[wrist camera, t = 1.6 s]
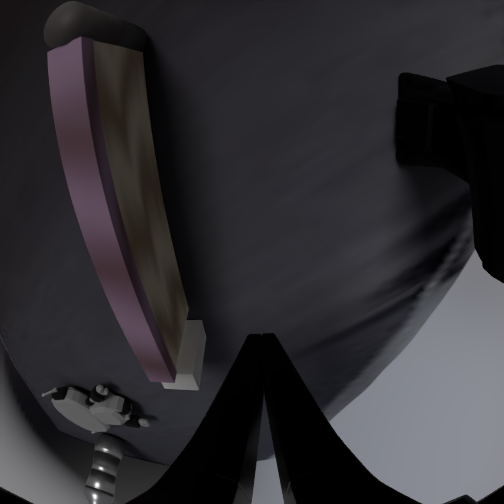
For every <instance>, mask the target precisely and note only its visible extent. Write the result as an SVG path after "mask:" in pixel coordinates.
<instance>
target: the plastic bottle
mask: <svg viewBox="0 0 504 504" xmlns="http://www.w3.org/2000/svg"><path fill="white" fill-rule="evenodd" d="M124 448H125V446H124V443H123V442H122V441H121V440H119V439H118V438H116V437H113V436H110V435H107V434H101V435H99V436H98V437H97V439H96V442H95V454H94V460H93V465H92V469H91V472H90V475H89V477H88V480H87V482H86V485H85V488H84V492H85V495H86V498H87V499H88V502H89V504H111V503H113V501H114V498H115V496H114V495H115V480H116V474H117V470H118V466H119V463H120V460H121V459H122V456H123V454H124Z"/></svg>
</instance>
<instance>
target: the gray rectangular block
mask: <svg viewBox="0 0 504 504" xmlns="http://www.w3.org/2000/svg"><path fill="white" fill-rule="evenodd" d="M205 344H206V334H205V330H204V326H203V322H202V320H186V324H185V328H184V332H183V337H182V341H181V346H180V350H179V355H178V360H177V364H176V370H177V374H176V379H175V383H165V382H161V383H162V384H163V386H164V388H166V389H182V390H199V386H200V379H201V372H202V365H203V358H204V351H205Z"/></svg>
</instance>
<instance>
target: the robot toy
mask: <svg viewBox="0 0 504 504" xmlns="http://www.w3.org/2000/svg"><path fill="white" fill-rule="evenodd" d="M52 392H53V393H52ZM50 393H52V402H53V404H54V407H55V408H56V409H57V410H58V411H59V412H60V413H61V414H63V415H64V416H65V417H66V418H67V419H69V420H71V421H72V422H74V423H75V424H77V425H79V426H81V427H82V428H84V429H87V430H90V431H92V432H91V433H95V432H106V431H108V430H110V427H111V425H122V424H123V423H124V424H125V425H127V426H129V427H135V428H139V427H140V425H142V426H144V427H148V426H149V425H150V423H149V421H148V420H147V419H143V418H142V419H140V417H139V416H138V415H131V409H132V405H131V404H129V403H128V402H127V401H124V398H122V397H120V396H116V395H115V394H113V393H111V392H110V391H109V390H108V389H107V388H103V386H101V385H96V386H95V387H94V388H93V389H92V391H91V392H90V395H89V396H88V395H86V394H85V393H83V392H81V391H80V390H77V389H76V388H73V387H61V388H54V390H51V391H49V392H47V393H43V394H42V396H43V397H44V396H45V395H47V394H50Z"/></svg>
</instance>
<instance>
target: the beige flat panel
mask: <svg viewBox="0 0 504 504" xmlns="http://www.w3.org/2000/svg"><path fill="white" fill-rule="evenodd" d="M44 40H45V43H46V44H47V45H48V46H49V47H51V48H55V49H53V50H51V51H49V52H47V55H48V72H49V84H50V93H51V102H52V109H53V116H54V122H55V128H56V134H57V140H58V145H59V150H60V154H61V159H62V163H63V168H64V172H65V176H66V180H67V184H68V188H69V191H70V195H71V199H72V202H73V206H74V209H75V212H76V216H77V219H78V222H79V225H80V228H81V231H82V234H83V237H84V240H85V243H86V246H87V248H88V251H89V254H90V256H91V259H92V262H93V264H94V267H95V270H96V272H97V275H98V277H99V279H100V282H101V284H102V287H103V289H104V291H105V294H106V296H107V298H108V300H109V303H110V305H111V307H112V309H113V311H114V314H115V316H116V318H117V320H118V322H119V324H120V326H121V328H122V330H123V332H124V334H125V336H126V338H127V340H128V342H129V344H130V346H131V348H132V350H133V351H134V353H135V355H136V357H137V359H138V361H139V362H140V364H141V366H142V368H143V370H144V371H145V373H146V375H147V376H148V378H149V380H150V381H152V382H165V383H175V379H176V374H177V370H176V364H177V360H178V355H179V350H180V346H181V341H182V337H183V332H184V328H185V324H186V319H187V315H188V311H189V308H188V304H187V300H186V297H185V293H184V289H183V285H182V281H181V277H180V273H179V269H178V265H177V261H176V257H175V252H174V248H173V244H172V239H171V235H170V230H169V226H168V221H167V216H166V211H165V206H164V201H163V196H162V191H161V186H160V180H159V174H158V169H157V163H156V157H155V151H154V144H153V138H152V131H151V124H150V116H149V109H148V100H147V92H146V82H145V72H144V61H143V52H141V51H142V50H143V48H144V47H145V45H146V42H147V34H146V32H145V30H144V29H142V28H141V27H138V26H136V25H134V24H132V23H130V22H128V21H125V20H123V19H121V18H118V17H116V16H114V15H111V14H109V13H106V12H104V11H101V10H99V9H96V8H93V7H91V6H88V5H85V4H82V3H80V2H77V1H70V2H66V3H64V4H62V5H61V6H59V7H58V8H57V9H56V10H55V11H54V12H53V13H52V14H51V15H50V17H49V19H48V20H47V22H46V25H45V28H44Z"/></svg>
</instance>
